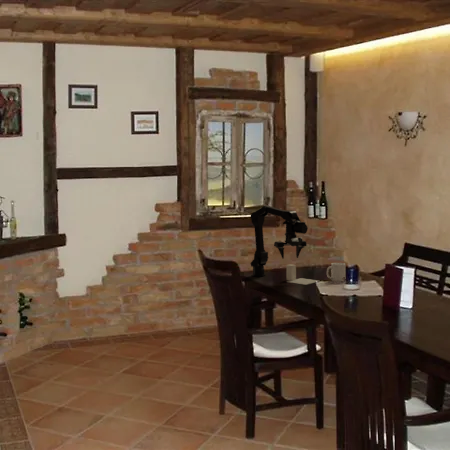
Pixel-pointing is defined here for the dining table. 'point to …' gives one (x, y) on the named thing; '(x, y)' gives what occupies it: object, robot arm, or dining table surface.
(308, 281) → the mat
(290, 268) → the block
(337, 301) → the dining table surface
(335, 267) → the cup
